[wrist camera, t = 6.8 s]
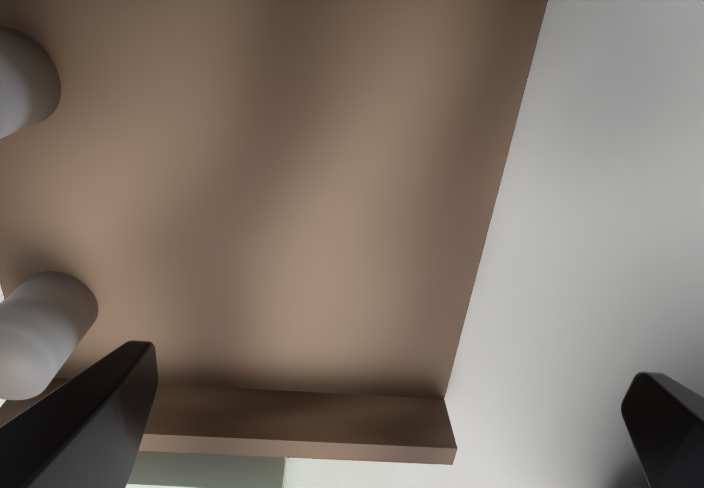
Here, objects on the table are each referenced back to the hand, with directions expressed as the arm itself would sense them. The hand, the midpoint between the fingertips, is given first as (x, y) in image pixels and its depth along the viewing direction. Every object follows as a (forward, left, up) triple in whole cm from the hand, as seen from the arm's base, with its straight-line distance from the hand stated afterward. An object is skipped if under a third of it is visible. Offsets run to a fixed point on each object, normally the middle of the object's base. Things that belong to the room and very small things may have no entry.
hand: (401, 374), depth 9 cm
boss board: (+4, 0, -7) cm, 8 cm away
